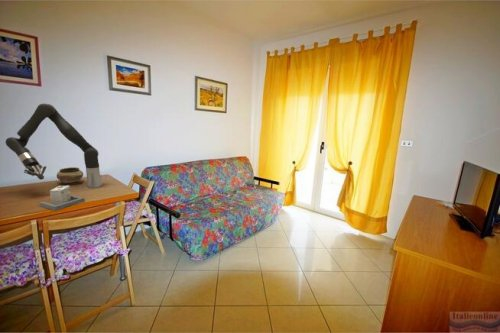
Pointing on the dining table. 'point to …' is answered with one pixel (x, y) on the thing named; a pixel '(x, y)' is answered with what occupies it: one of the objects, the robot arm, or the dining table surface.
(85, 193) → the dining table surface
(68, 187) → the light bulb box
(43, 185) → the dining table surface
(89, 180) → the robot arm
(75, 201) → the charcoal bay
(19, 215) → the dining table surface
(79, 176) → the ceramic bowl
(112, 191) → the dining table surface
